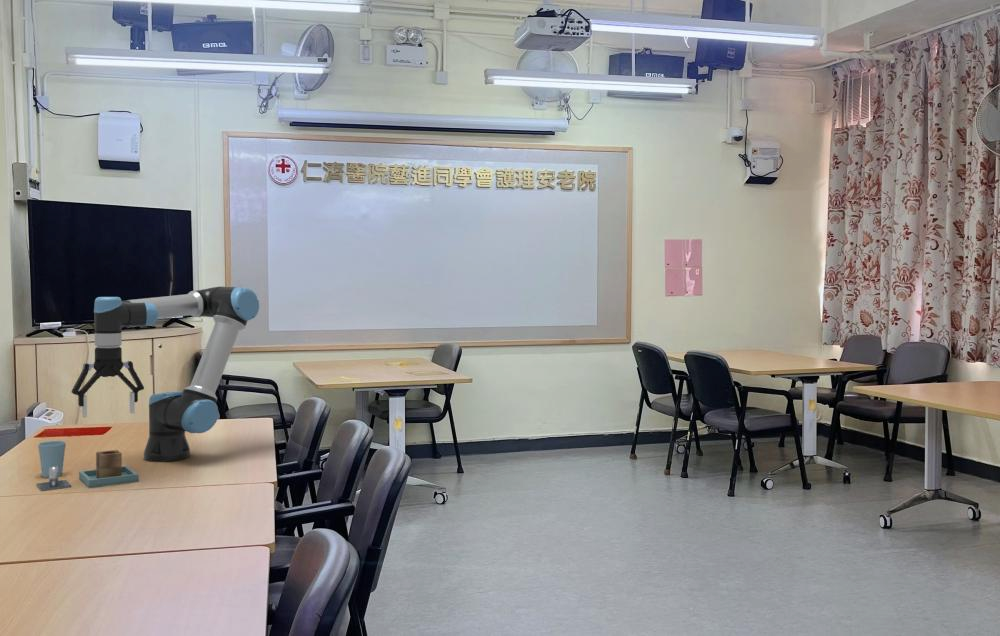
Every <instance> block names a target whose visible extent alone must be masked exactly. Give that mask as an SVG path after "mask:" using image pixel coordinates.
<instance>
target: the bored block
mask: <svg viewBox="0 0 1000 636" xmlns="http://www.w3.org/2000/svg"><path fill="white" fill-rule="evenodd" d="M122 459H123V456H122V452H121V451H119V450H118V449H114V450H104V451H96V452H95V469H96V478H97V479H99V478H107V477H115V476H122V466H123V465H122V464H123V463H122V462H123V461H122Z"/></svg>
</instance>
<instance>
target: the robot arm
mask: <svg viewBox="0 0 1000 636" xmlns="http://www.w3.org/2000/svg"><path fill="white" fill-rule="evenodd" d="M259 310H260V302H259V300H258V295H257V293H255V291H253V290H252V289H251V288H248V287H243V286H214V287H210V288H202V289H196V290H191V291H189V292H188V293H186V294H177V295H168V296H159V297H158V296H156V297H148V298H147V297H145V298H137V299H127V300H122V299H121V297H119V296H98V297H96V298H95V300H94V307H93V314H94V315H93V316H94V346H95V348H94V362H93V363H87V362H84V363H83V364H82V370H81V372H80V374H79V376H78V378H77V380H76V381H75V383H74V386H73V388H72V389H71V394H73V395H75V396H78V397H77V398H78V400H77V401H78V402H77V403H78V406H79V407H81V409H82V411H81V415H82V418H87V417H88V406H87V405H88V403H87V402H88V401H87V399H88V396H87V395H85V394H86V393H87V392H88V390H89V389H90V388H92V386H93V385H94V384H95V383H96V382H97V381H98V380H99V379H100V378H101V377H103V378H108V377H111V378H112V377H113V378H114V377H116V376H117V377H118V378H119V379H120V380H121V381H122V382H123V383H124V384H125V385H126V386H127V387H128V388H129V389H130V390H131V391H129V413H130V414H135V403H137V402H138V400H139V392H140V391H142V390H144V389H145V387H144V385H143V383H142V381H141V379H140V377H139V376H138V374H137V372H136V370H135V368H134V364H133V362H132V361H131V360H128V361H125V362H123V359H122V358H123V357H122V356H123V355H122V353H123V352H122V351H123V350H122V347H121V346H122V342H123V341H122V340H123V339H122V328H127V327H147V326H148V327H150V326H153V325H155V324H156V322H157V321H158V320H160V319H161V320H162V319H169V318H177V317H185V316H186V317H187V316H191V317H193V318H201V317H203V318H205V317H206V318H213V321H214V325H213V328H212V330H211V333H210V336H209V337H208V340H207V343H206V345H205V347H204V350H203V352H202V355H201V358H200V360H199V362H198V366H197V367H196V370H195V373H194V376H193V378H192V381H191V383H190V385H188V386H187V387H185V388H183V391H182V390H181V391H179V390H177V391H169V392H160V393H153V394H151V395H150V396H149V401H148V425H149V426H148V428H149V429H148V430H149V431H148V432H149V434H148V439H147V442H146V445H145V448H144V451H143V460H145V461H147V462H157V463H159V462H160V463H161V462H174V461H180V460H185V459H187V458H190V456H191V447H190V445H189V442H188V440H187V437H186V432H187V433H190V434H204V433H206V432H208V431H210V430H211V429H212V428H213V427H214V426H215V425H216V423H217V420H218V419H219V412H220V411H219V407H218V405H217V402H218V397H217V395H216V391H217V389H218V386H219V384H220V381H221V379H222V376H223V373H224V371H225V368H226V366H227V363H228V361H229V358H230V356H231V353H232V350H233V348H234V345H235V343H236V339H237V337H238V334H239V332H240V331H242V330H244V329H246V326H247V324H248V321H251V320H253V319H254V318H256V317H257V315H258V314H259ZM123 367H125V369H127V370H128V373H129V374H130V376H131V378H132V380H133V381H134V383H135V384H136V386H135V385H134V384H133V383H132V381H131V380H130V379H128V377H127V376H125V374H124V373H123V372H122V369H123ZM92 368H93V369H94V371H95V372H94V373H93V374H92V376H91V377H90V378H89V379H88V380H87V382H86V383H85V384H84V385H83V383H84V381H85V379H86V378H87V376H88V374H89V371H91V370H92ZM82 385H83V386H82ZM81 387H82V388H81Z"/></svg>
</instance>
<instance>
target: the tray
mask: <svg viewBox="0 0 1000 636" xmlns="http://www.w3.org/2000/svg"><path fill="white" fill-rule="evenodd" d="M139 476H140V475H139V473H137V472H136V471H135V470H134V469H132V468H131V467H129V466H128V465H122V476H115V477H107V478H99V479H97V478H96V468H95V469H87V470H80V471H78V479H79V480H80V481H81V482H82V483H83V484H84V485H85V486H86V487H87V488H88V489H93V488H101V487H107V486H108V487H109V486H114V485H116V486H117V485H122V484H131V483H138V482H139V481H140V479H139Z"/></svg>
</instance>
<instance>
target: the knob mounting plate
mask: <svg viewBox="0 0 1000 636" xmlns="http://www.w3.org/2000/svg"><path fill="white" fill-rule="evenodd" d="M36 486H37V488H38V490H39V491H41V492H44V491H52V490H59V489H68V487H69V488H72V484H71V483H70V482H69V481H68V480H67V479H62V480H61V479H60V480H59V476H58V466H53V467H49V479H48V481H46V482H38V483H37V482H36Z"/></svg>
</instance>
